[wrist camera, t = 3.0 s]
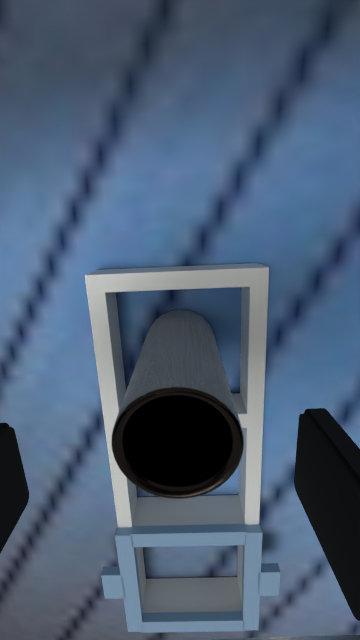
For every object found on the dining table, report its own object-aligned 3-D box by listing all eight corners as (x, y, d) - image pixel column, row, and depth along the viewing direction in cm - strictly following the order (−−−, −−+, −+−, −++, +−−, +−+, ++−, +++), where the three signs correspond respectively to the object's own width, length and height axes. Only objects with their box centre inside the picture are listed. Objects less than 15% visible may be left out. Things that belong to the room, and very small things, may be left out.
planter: (204, 300, 19) (227, 372, 9) (221, 363, 20) (257, 485, 10) (137, 319, 20) (90, 406, 10) (158, 379, 21) (135, 512, 11)
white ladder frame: (282, 261, 18) (301, 267, 15) (265, 585, 26) (276, 630, 23) (73, 270, 19) (52, 277, 16) (118, 588, 27) (110, 632, 24)
